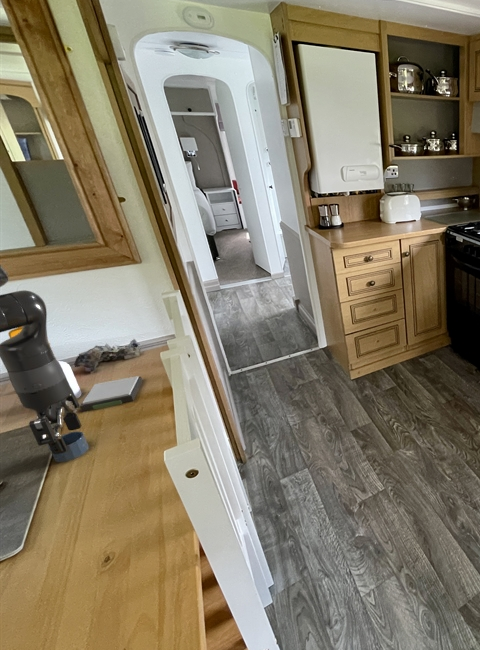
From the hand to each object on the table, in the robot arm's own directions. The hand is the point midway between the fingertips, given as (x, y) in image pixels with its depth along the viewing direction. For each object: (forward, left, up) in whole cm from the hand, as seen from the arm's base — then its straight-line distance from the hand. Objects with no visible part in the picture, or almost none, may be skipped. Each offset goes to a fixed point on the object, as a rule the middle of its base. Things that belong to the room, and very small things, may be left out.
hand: (68, 440), depth 87 cm
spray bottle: (-11, +28, -4) cm, 30 cm away
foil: (-4, +48, -4) cm, 48 cm away
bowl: (0, 0, -4) cm, 4 cm away
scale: (+2, +24, -4) cm, 24 cm away
